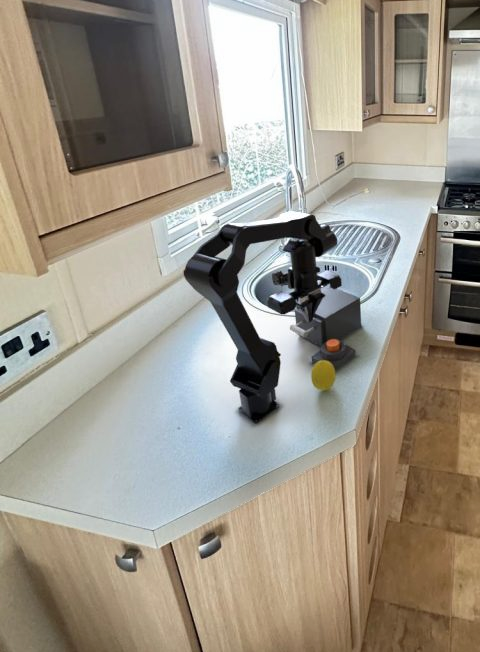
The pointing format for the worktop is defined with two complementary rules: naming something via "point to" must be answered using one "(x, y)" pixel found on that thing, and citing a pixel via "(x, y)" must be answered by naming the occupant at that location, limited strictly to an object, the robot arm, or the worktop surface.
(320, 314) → the air fryer
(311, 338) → the basket
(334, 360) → the control block
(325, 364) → the lemon
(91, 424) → the worktop surface
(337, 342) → the button
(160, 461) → the worktop surface
